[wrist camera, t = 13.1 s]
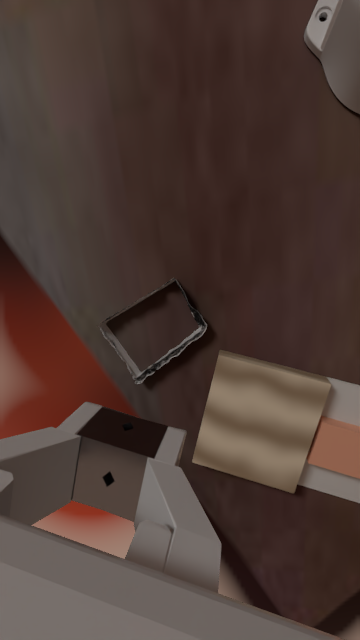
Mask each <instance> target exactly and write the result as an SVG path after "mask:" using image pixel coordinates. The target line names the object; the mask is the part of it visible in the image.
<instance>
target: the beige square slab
mask: <svg viewBox="0 0 360 640" xmlns="http://www.w3.org/2000/svg"><path fill="white" fill-rule="evenodd" d="M330 387H331V383H330V381H329V380H328V379H327V377H325V376H321V375H317V374H313V373H309V372H305V371H301V370H297V369H294V368H290V367H286V366H282V365H278V364H274V363H270V362H266V361H262V360H259V359H255V358H251V357H247V356H243V355H239V354H235V353H231V352H227V351H223V350H220V352H219V356H218V360H217V364H216V368H215V372H214V376H213V380H212V384H211V388H210V392H209V396H208V400H207V404H206V408H205V412H204V416H203V420H202V424H201V428H200V432H199V436H198V440H197V444H196V448H195V452H194V456H193V460H192V462H193V463H196V464H200V465H203V466H206V467H209V468H213V469H216V470H219V471H222V472H225V473H229V474H232V475H235V476H238V477H242V478H245V479H248V480H251V481H255V482H258V483H261V484H264V485H268V486H271V487H274V488H277V489H280V490H284V491H287V492H290V493H293V494H294V492H295V489H296V486H297V484H298V481H299V478H300V475H301V472H302V469H303V466H304V463H305V460H306V457H307V454H308V451H309V449H310V446H311V443H312V440H313V437H314V434H315V431H316V428H317V425H318V422H319V419H320V416H321V414H322V411H323V408H324V405H325V402H326V399H327V396H328V393H329V390H330Z"/></svg>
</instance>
